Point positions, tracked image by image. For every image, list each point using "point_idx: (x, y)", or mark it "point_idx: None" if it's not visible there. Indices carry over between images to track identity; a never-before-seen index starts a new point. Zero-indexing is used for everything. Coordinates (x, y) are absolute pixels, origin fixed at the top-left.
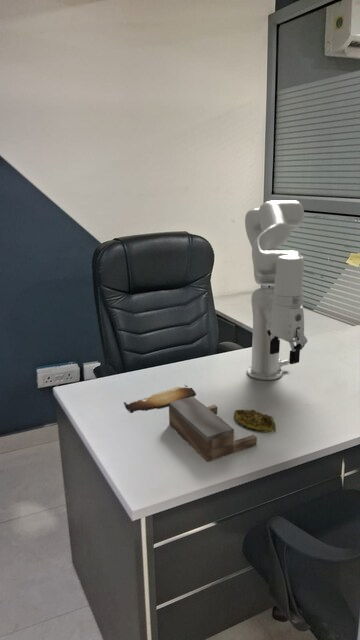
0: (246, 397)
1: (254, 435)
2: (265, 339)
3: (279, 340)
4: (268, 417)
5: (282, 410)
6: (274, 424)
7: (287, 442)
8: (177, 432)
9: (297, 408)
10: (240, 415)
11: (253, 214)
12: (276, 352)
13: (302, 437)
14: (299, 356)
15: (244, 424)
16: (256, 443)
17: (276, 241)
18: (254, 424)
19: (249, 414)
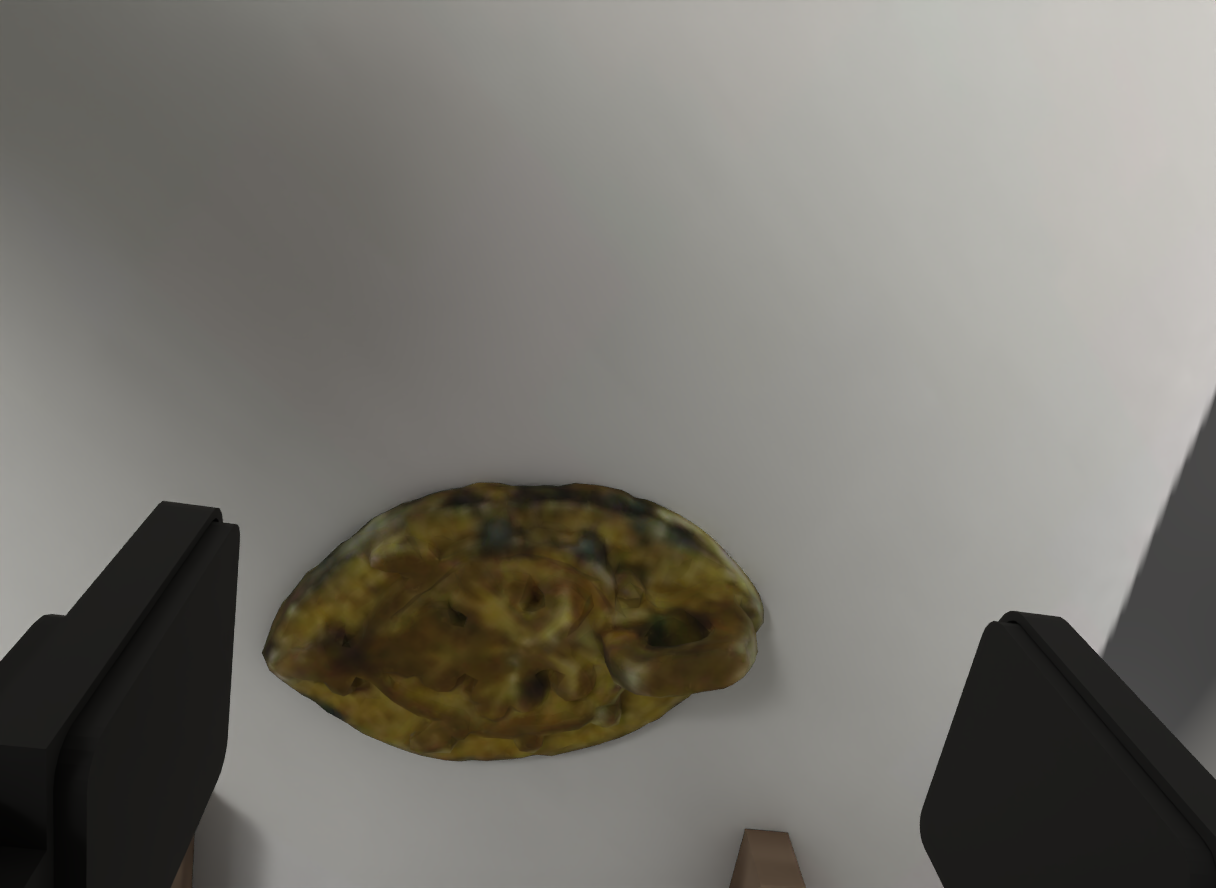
0: (31, 320)
1: (774, 886)
2: None
3: (55, 757)
4: (708, 688)
5: (523, 230)
6: (744, 611)
7: (933, 633)
8: None
9: (601, 46)
10: (382, 692)
11: None
12: (231, 622)
13: (983, 482)
14: (1139, 701)
15: (527, 756)
16: (791, 846)
17: None
18: (608, 725)
19: (437, 641)
